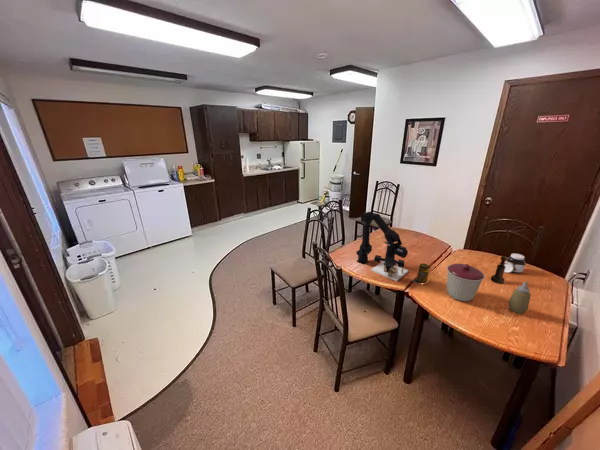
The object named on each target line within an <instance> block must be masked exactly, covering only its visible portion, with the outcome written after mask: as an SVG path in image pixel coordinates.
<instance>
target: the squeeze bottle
mask: <svg viewBox="0 0 600 450" xmlns="http://www.w3.org/2000/svg"><path fill="white" fill-rule="evenodd" d="M530 291H531V290H530V288H529V287H528V282H527V281H524V282H523V283H522V284H521V285H517V288H515V289H514V290H513V292H512V294H511V296H510V297H509V300H508V302H507V303H508V309H509V310H510V312H512V313H515V314H518V315H523V314H524V313H526V312H527V311H528V309H529V306H530V302H531V301H530V300H531V295H532V294H531V293H530Z"/></svg>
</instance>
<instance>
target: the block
mask: <svg viewBox="0 0 600 450" xmlns="http://www.w3.org/2000/svg"><path fill="white" fill-rule="evenodd" d="M396 266H397V265H396ZM396 266H394V267H392V268H393V270H392V269H391V268H390V269H389V271H388V277H392V273H396ZM384 272H387V270H386V266H385V265H384Z"/></svg>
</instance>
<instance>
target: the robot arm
mask: <svg viewBox="0 0 600 450" xmlns="http://www.w3.org/2000/svg"><path fill="white" fill-rule="evenodd" d="M373 221H374V222H375V224H376V225H377V226H378V227H379V228H380V230H381V232H382V233H383V234H384V239H385V240H386V241H385V242H384V244H386V245H387V246H386V250H385V256H384V257H382V255H377V254H375V255H374V259H373V262H375V263H378V264H380V263H381V262H383V261H384V263H383V264H384V265H385V266H386V270H387V273H388V271H389V269H390V268H391V267H394V265H396V266H398V267H401V268H404V269H405V263H406V262H405V260H403V259H405V258H407V256H408V254H409V251H408V249H407V247H405V246H403V243H402V241H401V237H400V234H398V233H397V232H396V231H395V230H394V229H392V228H390V227H389V225H388V224H387V223H386V222H385V220H384V219H383V218H382V217H381V215H380V213H376V212H375V213H374V212H372V211H366V212H363V213H361V214H360V222H361V223H362V236H361V237H362V240H361V241H362V242H361V244H360V246H359V250H357V251H356V253H355V254H356V255H357V256H358V257H357V260H356V262H357V263H359V264H362V265H366V264H367V263H368V262H369V257H368V255H370V253H371V252H372V251H373V249H372V248H373V246H372V245H371V244H370V235H371V232H370V231H371V224H372V222H373ZM396 256H398V257H400V258H402V259H398V260H397V259H395V257H396Z"/></svg>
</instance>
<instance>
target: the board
mask: <svg viewBox="0 0 600 450" xmlns="http://www.w3.org/2000/svg"><path fill="white" fill-rule="evenodd" d="M383 263H384V261H380V262H379V263H378V264H377V265H376V266H374V267H373V268H371V272H373V273H374V274H375V273H376V274H378V275H380V276H383V277H385V278H386V279H390V280H392V281H394V282H398V281H399V280H400V279H401V278H403V277H404V276H405V275H406V274H408V273H409V270H408V269H407V268H404V269H403V274H402V273H401V270H402V267H398V265H397V264H396V265H394V266H396V273H392V277H388V273H387V272H384V264H383ZM391 269H392V270H393V268H392V267H391Z"/></svg>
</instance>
